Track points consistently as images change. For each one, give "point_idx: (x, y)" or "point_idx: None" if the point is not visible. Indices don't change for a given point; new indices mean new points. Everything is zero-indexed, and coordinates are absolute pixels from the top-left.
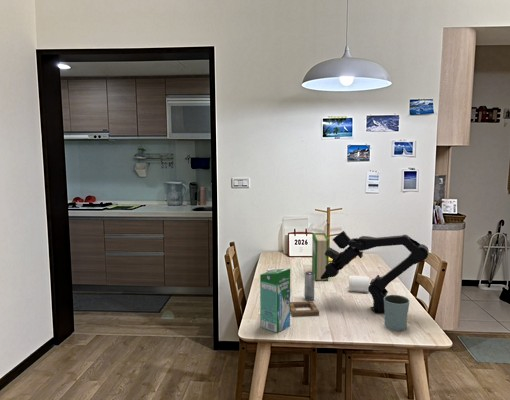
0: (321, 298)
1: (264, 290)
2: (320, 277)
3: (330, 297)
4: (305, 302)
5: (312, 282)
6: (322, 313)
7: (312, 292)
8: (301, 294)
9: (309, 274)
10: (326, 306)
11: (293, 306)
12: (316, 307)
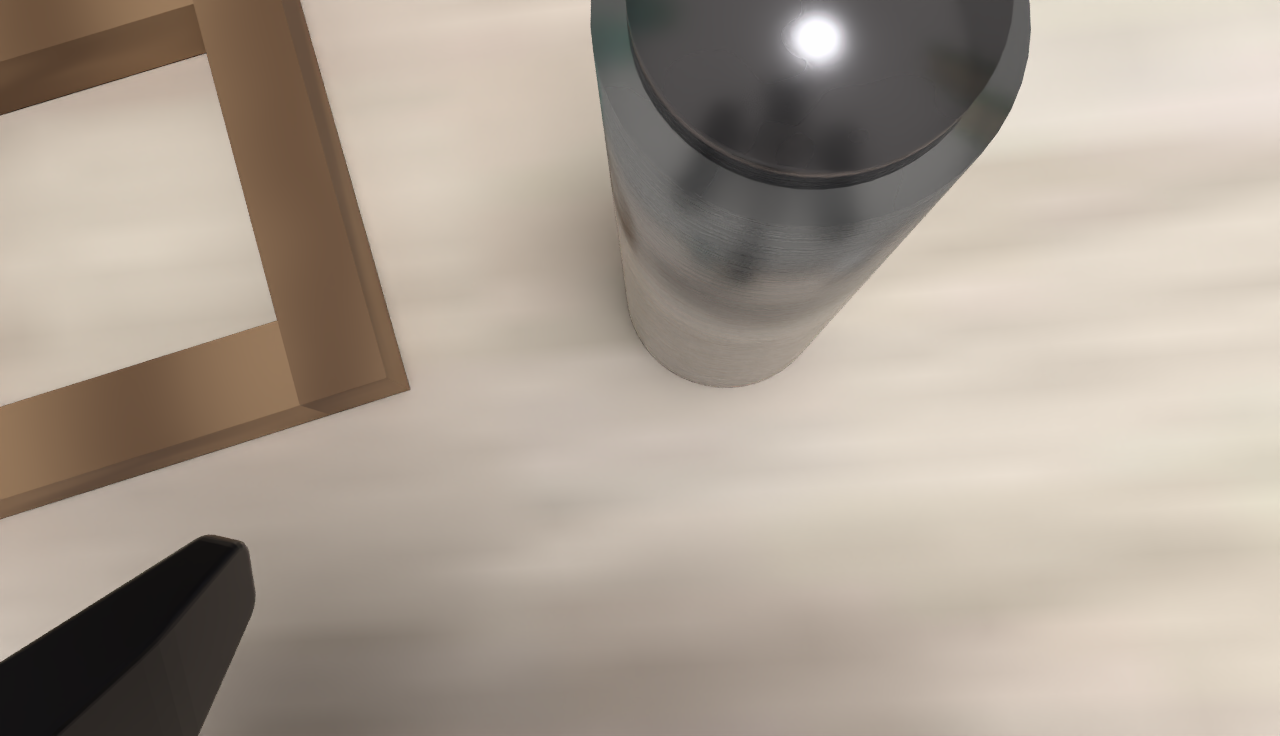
0: (828, 531)
1: None
2: (195, 539)
3: (936, 724)
4: (295, 229)
5: (647, 247)
6: (40, 598)
7: (654, 321)
8: None
9: (621, 8)
10: (404, 659)
11: (55, 29)
12: (51, 474)
